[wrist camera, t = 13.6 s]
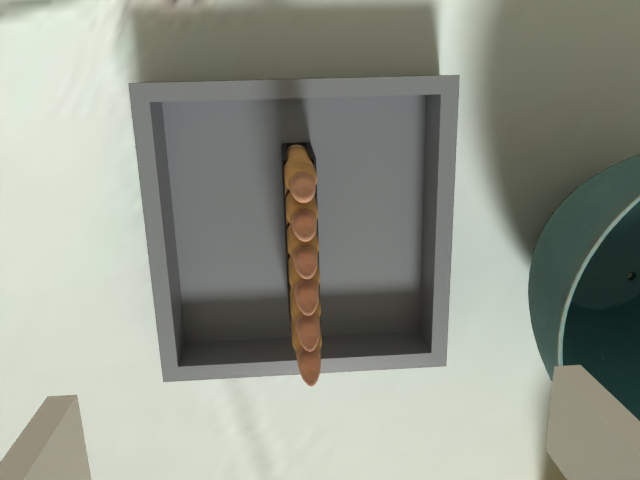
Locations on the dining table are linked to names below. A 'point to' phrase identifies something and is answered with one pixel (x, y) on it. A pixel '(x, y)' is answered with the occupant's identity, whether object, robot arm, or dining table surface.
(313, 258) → the ammunition clip
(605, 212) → the teal bowl
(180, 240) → the tray
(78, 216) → the dining table surface
